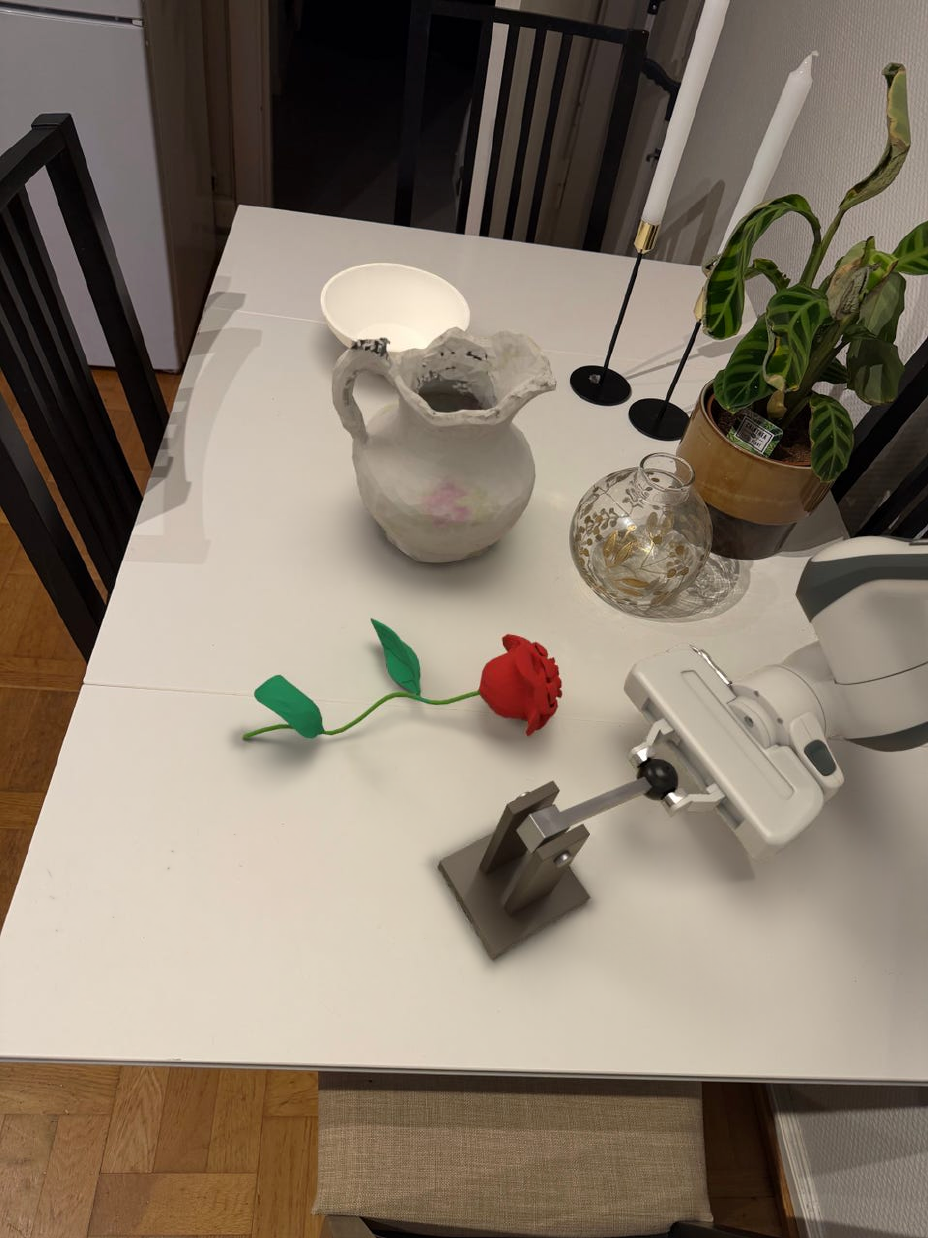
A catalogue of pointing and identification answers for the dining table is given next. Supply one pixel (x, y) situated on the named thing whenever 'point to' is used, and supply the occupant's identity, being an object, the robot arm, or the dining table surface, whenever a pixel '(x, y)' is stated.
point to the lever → (598, 804)
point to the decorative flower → (507, 686)
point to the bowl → (392, 306)
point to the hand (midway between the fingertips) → (650, 783)
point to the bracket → (516, 876)
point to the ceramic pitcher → (445, 439)
